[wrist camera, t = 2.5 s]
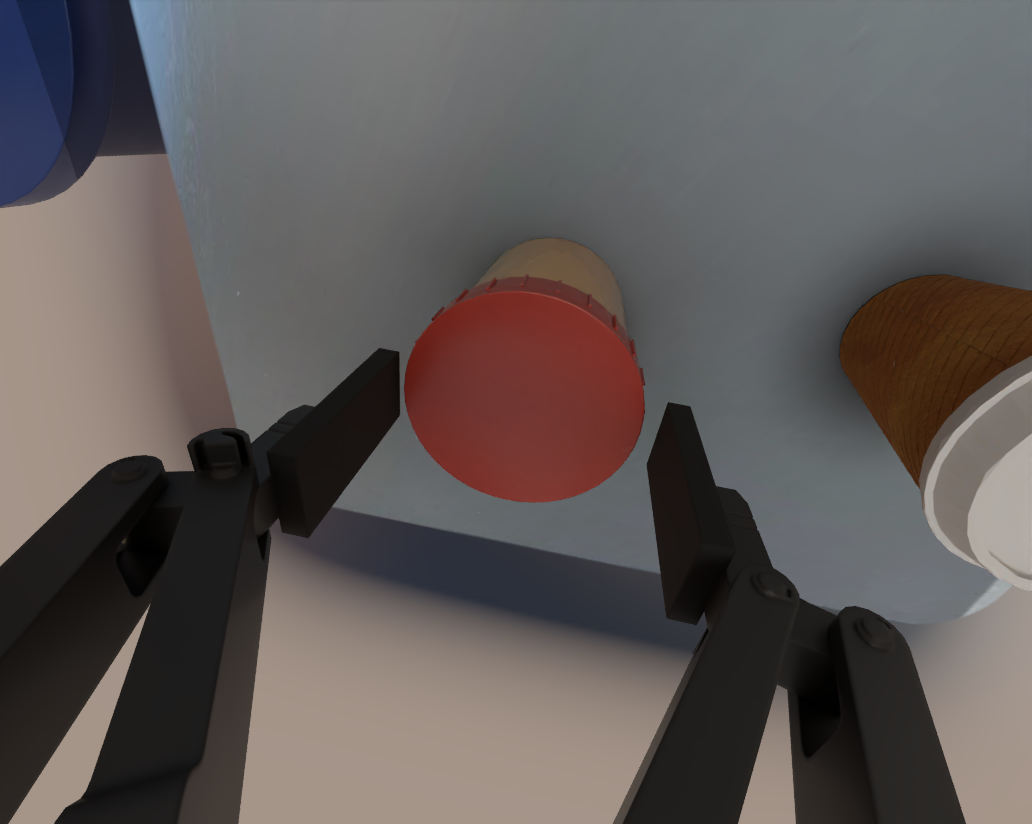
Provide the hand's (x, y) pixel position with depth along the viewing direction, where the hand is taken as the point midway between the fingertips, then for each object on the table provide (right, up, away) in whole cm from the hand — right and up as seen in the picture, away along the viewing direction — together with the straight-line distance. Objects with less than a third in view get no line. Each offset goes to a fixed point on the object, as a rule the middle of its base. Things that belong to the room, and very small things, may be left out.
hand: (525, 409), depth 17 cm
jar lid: (0, 0, 0) cm, 0 cm away
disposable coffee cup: (+19, +4, +6) cm, 21 cm away
